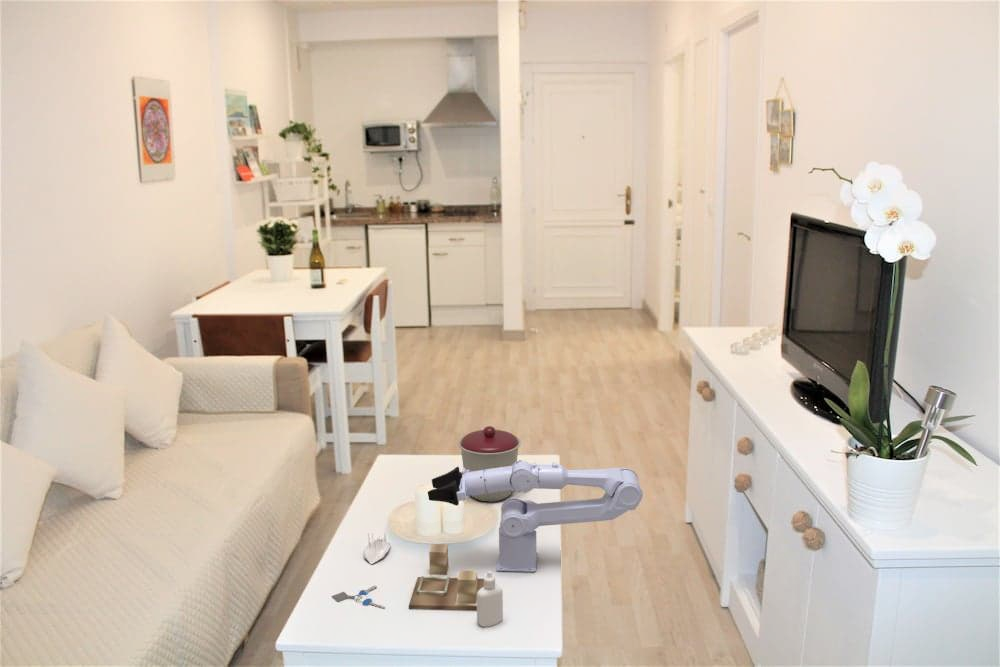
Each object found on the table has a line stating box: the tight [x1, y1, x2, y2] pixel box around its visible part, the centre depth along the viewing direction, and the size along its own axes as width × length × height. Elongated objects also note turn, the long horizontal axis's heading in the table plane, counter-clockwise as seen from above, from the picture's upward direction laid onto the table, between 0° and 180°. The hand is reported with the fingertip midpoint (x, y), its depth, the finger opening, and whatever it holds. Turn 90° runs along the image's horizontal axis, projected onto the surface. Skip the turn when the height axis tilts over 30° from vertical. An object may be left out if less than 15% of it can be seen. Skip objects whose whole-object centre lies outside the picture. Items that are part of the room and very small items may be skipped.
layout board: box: [408, 569, 484, 612], centre depth 191 cm, size 16×12×7 cm
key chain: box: [331, 585, 386, 609], centre depth 193 cm, size 14×8×1 cm, turn 75°
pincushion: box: [363, 532, 391, 565], centre depth 211 cm, size 12×6×6 cm, turn 175°
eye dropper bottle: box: [476, 570, 504, 628], centre depth 180 cm, size 4×6×12 cm
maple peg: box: [428, 543, 449, 576], centre depth 202 cm, size 4×4×6 cm
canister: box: [457, 425, 522, 503], centre depth 243 cm, size 18×18×21 cm
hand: (430, 489), depth 202 cm, fingers open, 7 cm apart
